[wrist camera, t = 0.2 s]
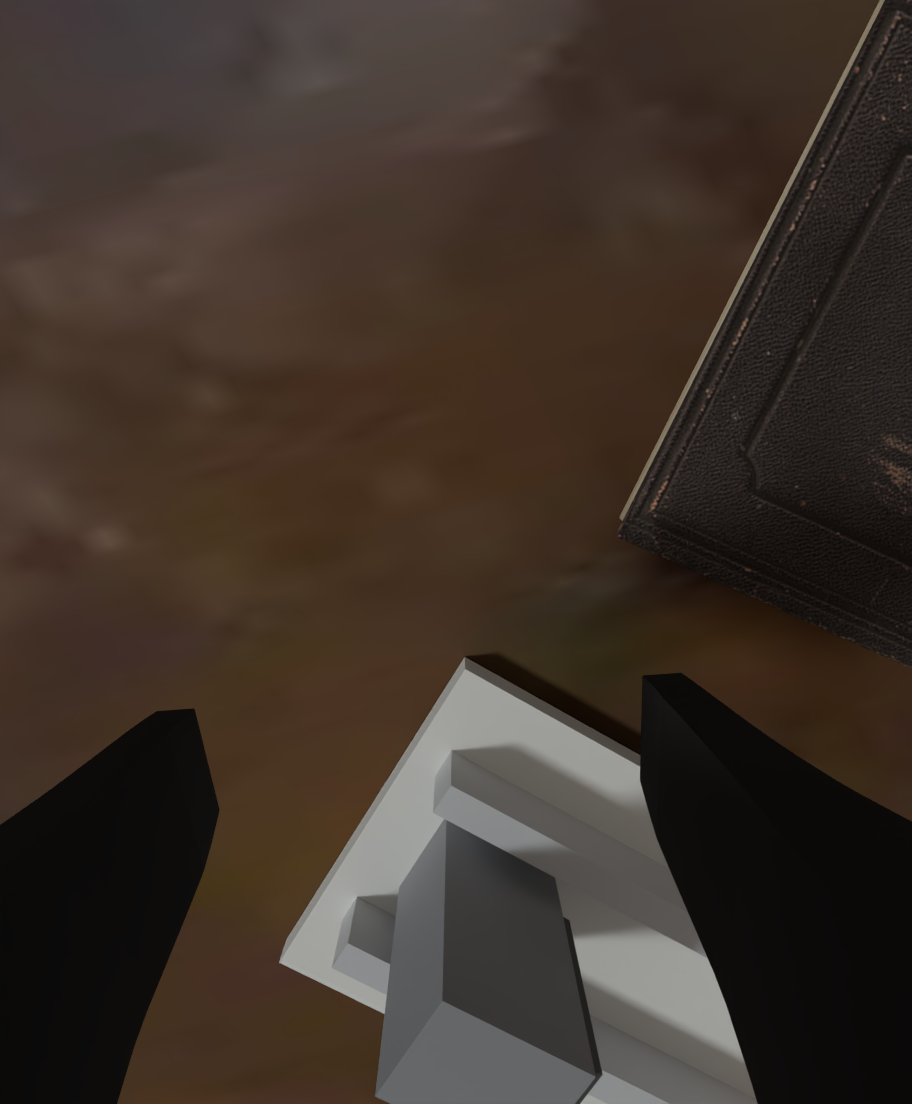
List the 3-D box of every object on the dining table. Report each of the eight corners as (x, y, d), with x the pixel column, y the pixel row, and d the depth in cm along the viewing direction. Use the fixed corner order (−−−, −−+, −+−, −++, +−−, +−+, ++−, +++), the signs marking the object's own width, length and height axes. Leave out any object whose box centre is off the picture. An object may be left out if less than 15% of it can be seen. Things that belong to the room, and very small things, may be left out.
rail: (801, 1193, 27) (941, 1519, 19) (286, 940, 25) (207, 1194, 17) (1008, 962, 25) (1263, 1224, 17) (464, 656, 22) (469, 798, 15)
